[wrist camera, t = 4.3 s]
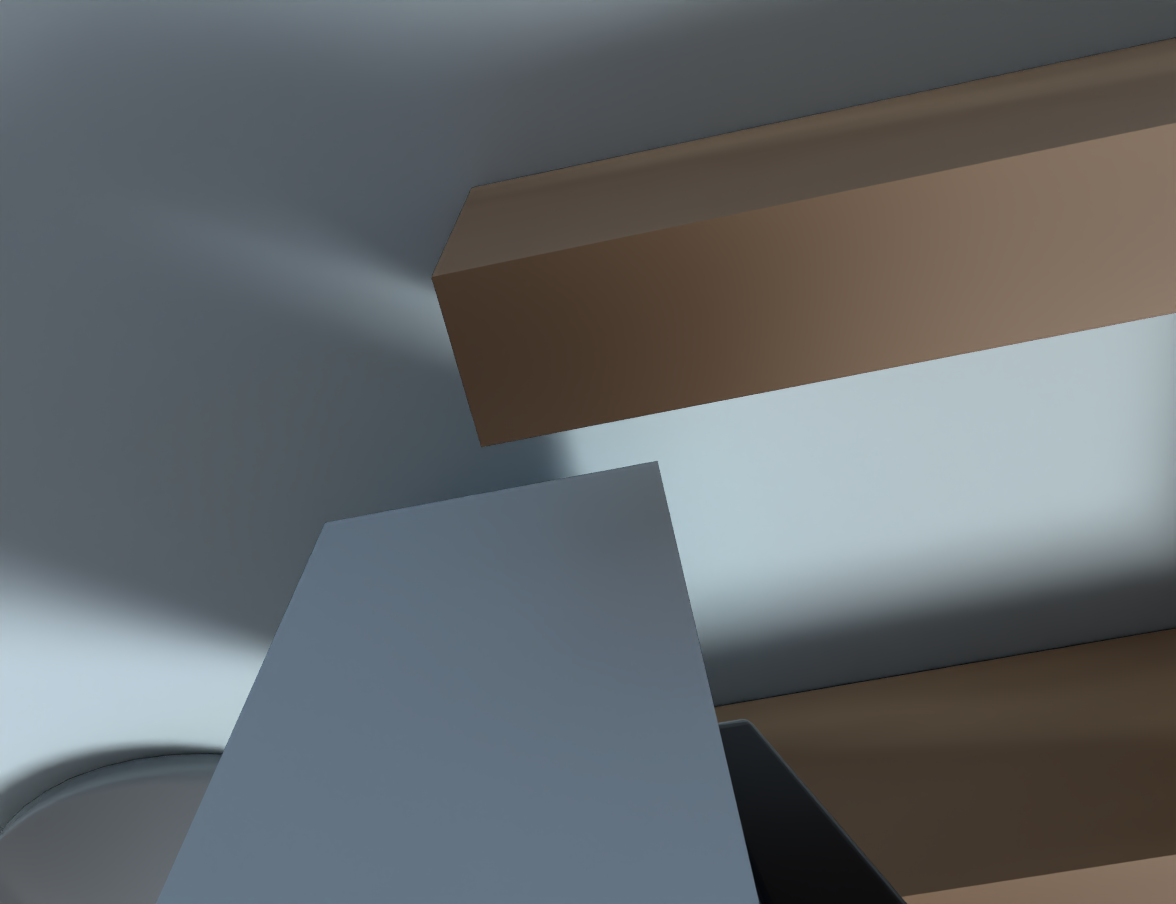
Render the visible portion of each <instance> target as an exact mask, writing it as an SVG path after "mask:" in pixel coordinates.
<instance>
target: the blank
mask: <svg viewBox="0 0 1176 904" xmlns="http://www.w3.org/2000/svg"><path fill="white" fill-rule="evenodd" d="M156 904H759V900H758V896H757V891H756V887H755V883H754V878H753V874H752V870H751V865H750V861H749V856H748V852H747V848H746V843H745V839H744V835H743V830H742V826H741V822H740V817H739V813H738V809H737V804H736V800H735V796H734V791H733V787H732V783H731V778H730V774H729V770H728V765H727V761H726V757H725V752H724V748H723V744H722V739H721V735H720V731H719V726H718V722H717V718H716V713H715V709H714V704H713V700H712V696H711V691H710V687H709V683H708V678H707V674H706V670H705V665H704V661H703V657H702V652H701V648H700V644H699V639H698V635H697V631H696V626H695V622H694V618H693V613H692V609H691V605H690V600H689V596H688V592H687V587H686V583H685V579H684V574H683V570H682V566H681V561H680V557H679V552H678V548H677V544H676V539H675V535H674V531H673V526H672V522H671V518H670V513H669V509H668V505H667V500H666V496H665V492H664V487H663V483H662V479H661V474H660V470H659V466H658V461H654V462H649V463H643V464H638V465H633V466H627V467H622V468H617V469H611V470H606V471H600V472H595V473H590V474H584V475H579V476H573V477H568V478H563V479H557V480H552V481H546V482H541V483H536V484H530V485H525V486H519V487H514V488H509V489H503V490H498V491H493V492H487V493H482V494H476V495H471V496H466V497H460V498H455V499H449V500H444V501H439V502H433V503H428V504H422V505H417V506H412V507H406V508H401V509H395V510H390V511H385V512H379V513H374V514H369V515H363V516H358V517H352V518H347V519H342V520H336V521H331V522H325V524H324V526H323V529H322V531H321V533H320V535H319V538H318V540H317V542H316V544H315V547H314V549H313V551H312V553H311V556H310V558H309V560H308V562H307V565H306V567H305V569H304V571H303V574H302V576H301V578H300V580H299V583H298V585H297V587H296V589H295V592H294V594H293V596H292V598H291V601H290V603H289V605H288V607H287V610H286V612H285V614H284V616H283V619H282V621H281V623H280V625H279V628H278V630H277V632H276V634H275V637H274V639H273V641H272V643H271V646H270V648H269V650H268V652H267V655H266V657H265V659H264V661H263V664H262V666H261V668H260V670H259V673H258V675H257V677H256V679H255V682H254V684H253V686H252V688H251V691H250V693H249V695H248V698H247V700H246V702H245V704H244V707H243V709H242V711H241V713H240V716H239V718H238V720H237V722H236V725H235V727H234V729H233V731H232V734H231V736H230V738H229V740H228V743H227V745H226V747H225V749H224V752H223V754H222V756H221V758H220V761H219V763H218V765H217V767H216V770H215V772H214V774H213V776H212V779H211V781H210V783H209V785H208V788H207V790H206V792H205V794H204V797H203V799H202V801H201V803H200V806H199V808H198V810H197V812H196V815H195V817H194V819H193V821H192V824H191V826H190V828H189V830H188V833H187V835H186V837H185V839H184V842H183V844H182V846H181V848H180V851H179V853H178V855H177V857H176V860H175V862H174V864H173V866H172V869H171V871H170V873H169V875H168V878H167V880H166V882H165V884H164V887H163V889H162V891H161V894H160V896H159V898H158V900H157V903H156Z"/></svg>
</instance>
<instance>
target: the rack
mask: <svg viewBox="0 0 1176 904" xmlns="http://www.w3.org/2000/svg"><path fill="white" fill-rule="evenodd" d="M432 281H433V284H434V288H435V291H436V294H437V298H438V301H439V305H440V308H441V311H442V315H443V318H444V322H445V325H446V329H447V332H448V335H449V339H450V342H451V346H452V349H453V352H454V356H455V359H456V363H457V366H458V369H459V373H460V376H461V380H462V383H463V387H464V390H465V393H466V397H467V400H468V404H469V407H470V410H471V414H472V417H473V421H474V424H475V427H476V431H477V434H478V438H479V441H480V445H481V447H485V446H490V445H495V444H500V443H505V442H510V441H516V440H521V439H526V438H531V437H536V436H541V435H547V434H552V433H557V432H562V431H567V430H572V429H578V428H583V427H588V426H593V425H598V424H603V423H609V422H614V421H619V420H624V419H629V418H634V417H640V416H645V415H650V414H655V413H660V412H665V411H671V410H676V409H681V408H686V407H691V406H696V405H702V404H707V403H712V402H717V401H722V400H727V399H733V398H738V397H743V396H748V395H753V394H758V393H764V392H769V391H774V390H779V389H784V388H789V387H795V386H800V385H805V384H810V383H815V382H820V381H826V380H831V379H836V378H841V377H846V376H851V375H857V374H862V373H867V372H872V371H877V370H882V369H888V368H893V367H898V366H903V365H908V364H913V363H919V362H924V361H929V360H934V359H939V358H944V357H950V356H955V355H960V354H965V353H970V352H975V351H981V350H986V349H991V348H996V347H1001V346H1006V345H1012V344H1017V343H1022V342H1027V341H1032V340H1037V339H1043V338H1048V337H1053V336H1058V335H1063V334H1068V333H1074V332H1079V331H1084V330H1089V329H1094V328H1099V327H1105V326H1110V325H1115V324H1120V323H1125V322H1130V321H1136V320H1141V319H1146V318H1151V317H1156V316H1161V315H1167V314H1172V313H1176V38H1172V39H1167V40H1163V41H1158V42H1153V43H1148V44H1144V45H1139V46H1134V47H1130V48H1125V49H1120V50H1116V51H1111V52H1106V53H1102V54H1097V55H1092V56H1088V57H1083V58H1078V59H1073V60H1069V61H1064V62H1059V63H1055V64H1050V65H1045V66H1041V67H1036V68H1031V69H1027V70H1022V71H1017V72H1013V73H1008V74H1003V75H999V76H994V77H989V78H984V79H980V80H975V81H970V82H966V83H961V84H956V85H952V86H947V87H942V88H938V89H933V90H928V91H924V92H919V93H914V94H909V95H905V96H900V97H895V98H891V99H886V100H881V101H877V102H872V103H867V104H863V105H858V106H853V107H849V108H844V109H839V110H834V111H830V112H825V113H820V114H816V115H811V116H806V117H802V118H797V119H792V120H788V121H783V122H778V123H774V124H769V125H764V126H759V127H755V128H750V129H745V130H741V131H736V132H731V133H727V134H722V135H717V136H713V137H708V138H703V139H699V140H694V141H689V142H684V143H680V144H675V145H670V146H666V147H661V148H656V149H652V150H647V151H642V152H638V153H633V154H628V155H624V156H619V157H614V158H609V159H605V160H600V161H595V162H591V163H586V164H581V165H577V166H572V167H567V168H563V169H558V170H553V171H549V172H544V173H539V174H534V175H530V176H525V177H520V178H516V179H511V180H506V181H502V182H497V183H492V184H488V185H483V186H478V187H474V188H471V190H470V193H469V195H468V197H467V199H466V201H465V204H464V206H463V208H462V210H461V212H460V215H459V217H458V219H457V221H456V224H455V226H454V228H453V230H452V232H451V235H450V237H449V239H448V241H447V243H446V246H445V248H444V250H443V252H442V255H441V257H440V259H439V261H438V263H437V266H436V268H435V270H434V272H433V274H432ZM714 709H715V713H716V718H717V722H718V723H721V722H727V721H733V720H739V719H746V720H749V721H750V722H751V723H752V724H754V726H755V727H756V728H757V729H758V730H759V731H760V732H761V734H762V735H763V736H764V737H765V738H766V739H767V741H768V742H769V743H770V744H771V745H772V747H773V748H774V749H775V750H776V751H777V752H778V754H779V755H780V756H781V757H782V758H783V759H784V761H785V762H786V763H787V764H788V765H789V766H790V768H791V769H792V770H793V771H794V772H795V773H796V775H797V776H798V777H799V778H800V779H801V780H802V782H803V783H804V784H805V785H806V786H807V787H808V789H809V790H810V791H811V792H812V793H813V794H814V796H815V797H816V798H817V799H818V800H819V801H820V803H821V804H822V805H823V806H824V807H825V808H826V810H827V811H828V812H829V813H830V814H831V815H832V817H833V818H834V819H835V820H836V821H837V822H838V824H839V825H840V826H841V827H842V828H843V829H844V831H845V832H846V833H847V834H848V835H849V836H850V838H851V839H852V840H853V841H854V842H855V843H856V845H857V846H858V847H859V848H860V849H861V850H862V852H863V853H864V854H865V855H866V856H867V857H868V859H869V860H870V861H871V862H872V863H873V864H874V866H875V867H876V868H877V869H878V870H879V871H880V873H881V874H882V875H883V876H884V877H885V878H886V880H887V881H888V882H889V883H890V884H891V885H892V887H893V888H894V889H895V890H896V891H897V892H898V894H899V895H900V896H901V897H902V898H903V899H904V901H905V902H906V903H907V904H1176V629H1170V630H1164V631H1158V632H1152V633H1147V634H1141V635H1135V636H1129V637H1123V638H1117V639H1111V640H1106V641H1100V642H1094V643H1088V644H1082V645H1076V646H1070V647H1065V648H1059V649H1053V650H1047V651H1041V652H1035V653H1030V654H1024V655H1018V656H1012V657H1006V658H1000V659H994V660H989V661H983V662H977V663H971V664H965V665H959V666H953V667H948V668H942V669H936V670H930V671H924V672H918V673H912V674H907V675H901V676H895V677H889V678H883V679H877V680H871V681H866V682H860V683H854V684H848V685H842V686H836V687H830V688H825V689H819V690H813V691H807V692H801V693H795V694H789V695H784V696H778V697H772V698H766V699H760V700H754V701H748V702H743V703H737V704H731V705H725V706H719V707H714Z"/></svg>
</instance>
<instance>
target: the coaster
mask: <svg viewBox="0 0 1176 904" xmlns="http://www.w3.org/2000/svg"><path fill="white" fill-rule="evenodd" d="M221 756H222V755H218V754H190V755H168V756H160V757H152V758H144V759H136V760H132V761H127V762H123V763H119V764H114V765H110V766H105V767H102V768H99V769H96V770H93V771H90V772H88V773H85V774H82V775H79V776H76V777H74V778H71V779H69V780H67V781H65V782H63V783H61V784H59V785H57V786H55V787H53V788H52V789H50V790H48V791H46V792H44V793H43V794H41V795H40V796H39V797H37V798H36V799H34V800H33V801H32V802H30V803H29V804H27V805H26V806H25V807H23V808H22V809H21V810H20V811H19V812H18V813H17V814H16V815H15V816H14V817H13V818H12V819H11V820H10V821H9V822H8V823H7V824H6V825H5V827H4V828H3V830H2V831H1V833H0V904H156V903H157V900H158V898H159V896H160V894H161V891H162V889H163V887H164V884H165V882H166V880H167V878H168V875H169V873H170V871H171V869H172V866H173V864H174V862H175V860H176V857H177V855H178V853H179V851H180V848H181V846H182V844H183V842H184V839H185V837H186V835H187V833H188V830H189V828H190V826H191V824H192V821H193V819H194V817H195V815H196V812H197V810H198V808H199V806H200V803H201V801H202V799H203V797H204V794H205V792H206V790H207V788H208V785H209V783H210V781H211V779H212V776H213V774H214V772H215V770H216V767H217V765H218V763H219V761H220V758H221Z"/></svg>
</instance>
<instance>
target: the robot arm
mask: <svg viewBox="0 0 1176 904" xmlns="http://www.w3.org/2000/svg"><path fill="white" fill-rule="evenodd" d="M718 726H719V731H720V735H721V739H722V744H723V748H724V752H725V757H726V761H727V765H728V770H729V774H730V778H731V783H732V787H733V791H734V796H735V800H736V804H737V809H738V813H739V817H740V822H741V826H742V830H743V835H744V839H745V843H746V848H747V852H748V856H749V861H750V865H751V870H752V874H753V878H754V883H755V887H756V891H757V896H758V900H759V904H907V903H906V902H905V901H904V899H903V898H902V897H901V896H900V895H899V894H898V892H897V891H896V890H895V889H894V888H893V887H892V885H891V884H890V883H889V882H888V881H887V880H886V878H885V877H884V876H883V875H882V874H881V873H880V871H879V870H878V869H877V868H876V867H875V866H874V864H873V863H872V862H871V861H870V860H869V859H868V857H867V856H866V855H865V854H864V853H863V852H862V850H861V849H860V848H859V847H858V846H857V845H856V843H855V842H854V841H853V840H852V839H851V838H850V836H849V835H848V834H847V833H846V832H845V831H844V829H843V828H842V827H841V826H840V825H839V824H838V822H837V821H836V820H835V819H834V818H833V817H832V815H831V814H830V813H829V812H828V811H827V810H826V808H825V807H824V806H823V805H822V804H821V803H820V801H819V800H818V799H817V798H816V797H815V796H814V794H813V793H812V792H811V791H810V790H809V789H808V787H807V786H806V785H805V784H804V783H803V782H802V780H801V779H800V778H799V777H798V776H797V775H796V773H795V772H794V771H793V770H792V769H791V768H790V766H789V765H788V764H787V763H786V762H785V761H784V759H783V758H782V757H781V756H780V755H779V754H778V752H777V751H776V750H775V749H774V748H773V747H772V745H771V744H770V743H769V742H768V741H767V739H766V738H765V737H764V736H763V735H762V734H761V732H760V731H759V730H758V729H757V728H756V727H755V726H754V724H752V723H751V722H750V721H749V720H746V719H739V720H733V721H727V722H721V723H718Z"/></svg>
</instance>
